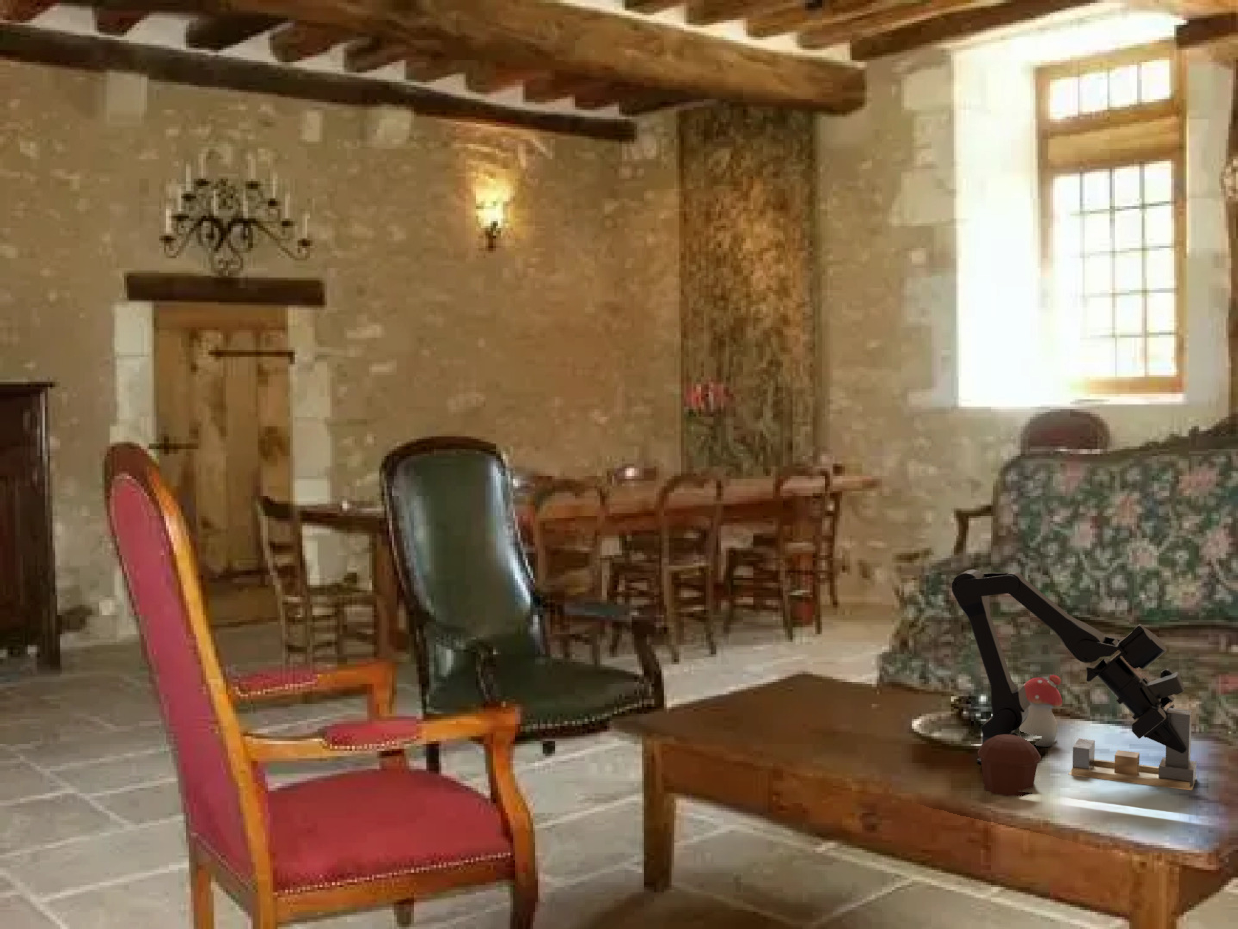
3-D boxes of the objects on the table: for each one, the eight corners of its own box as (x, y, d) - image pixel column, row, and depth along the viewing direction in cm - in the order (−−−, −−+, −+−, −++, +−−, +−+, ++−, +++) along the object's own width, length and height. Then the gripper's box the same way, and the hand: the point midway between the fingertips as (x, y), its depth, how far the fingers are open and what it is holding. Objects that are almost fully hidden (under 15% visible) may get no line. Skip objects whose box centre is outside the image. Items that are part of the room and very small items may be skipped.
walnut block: (1114, 775, 267) (1114, 755, 267) (1117, 770, 270) (1117, 750, 270) (1136, 778, 265) (1136, 757, 265) (1139, 773, 269) (1139, 752, 268)
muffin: (1053, 792, 261) (1054, 739, 260) (1014, 802, 254) (1015, 748, 254) (1002, 777, 270) (1003, 726, 270) (963, 786, 264) (964, 734, 263)
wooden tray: (1068, 780, 268) (1068, 769, 268) (1076, 767, 277) (1077, 756, 277) (1191, 796, 258) (1192, 784, 258) (1196, 782, 267) (1196, 771, 267)
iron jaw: (1072, 772, 269) (1072, 747, 269) (1078, 763, 275) (1078, 738, 275) (1088, 774, 268) (1089, 749, 267) (1094, 765, 274) (1094, 740, 274)
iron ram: (1158, 781, 262) (1160, 713, 261) (1162, 772, 268) (1164, 705, 267) (1192, 786, 259) (1195, 717, 259) (1196, 777, 265) (1198, 709, 264)
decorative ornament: (1066, 746, 293) (1068, 675, 292) (1046, 750, 289) (1047, 679, 288) (1031, 736, 300) (1032, 667, 299) (1010, 740, 297) (1012, 671, 296)
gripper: (1152, 667, 256) (1216, 734, 251) (1163, 649, 272) (1223, 711, 268) (1106, 704, 260) (1167, 771, 256) (1119, 684, 276) (1177, 746, 272)
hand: (1185, 748), depth 263 cm, fingers open, 5 cm apart
